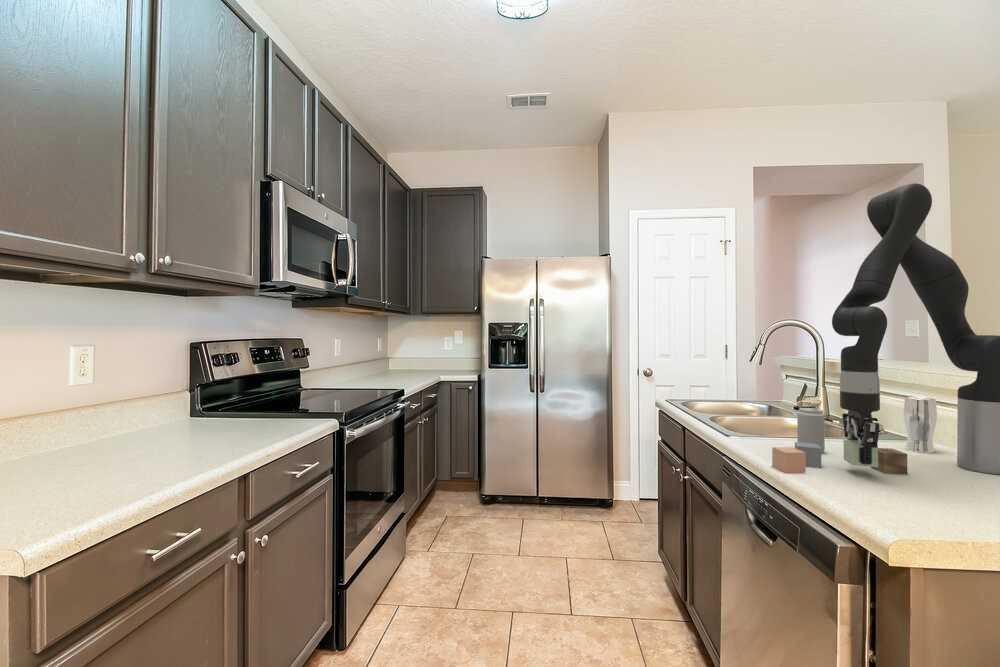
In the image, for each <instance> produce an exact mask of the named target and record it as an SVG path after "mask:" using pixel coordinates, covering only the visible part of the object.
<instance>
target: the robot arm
mask: <svg viewBox="0 0 1000 667" xmlns="http://www.w3.org/2000/svg"><path fill="white" fill-rule="evenodd" d="M932 205H933V196H932V194H931V191H930V190H929V189H928V188H927V187H926V186H925V185H923V184H921V183H918V182H916V183H908V184H905V185H902V186H898V187H896V188H893V189H891V190H889V191H886V192H883V193H881V194H878V195H876V196H874V197H872V198H871V199H870V200H869V201H868V204H867V206H866V214H867V217H868V220H869V221H870V224H871V225H872V227H873V228H874V230H875V231H876V232H877V233H878V235H879V236H880V237H881V240H880V241H879V242H878V244H876V246H875V247H874V248H873V249H872V250H871V251H870V252H869V253H868V255H867V256H866V257H865V258H864V259H863V261H862V263H861V265H860V267H859V268H858V270H857V273H856V276H855V279H854V282H853V284H852V288H851V289H850V290H849V292H848V293H847V294H846V295H845V297H844V298H843V299H842V300H841V302H840V303H839V305H837V307H836V309H835V311H834V312H833V315H832V318H831V325H832V329H833V330H834V332H835V333H836V334H838V335H840V336H844V337H858V339H857V341H856V343H855V344H854V345H851V346H845V347H843V348H842V349H841V352H840V376H839V406H840V408H841V409H842V410H846V411H847V413H845V412H843V413H842V425H843V433H844V434H843V435H844V438H846V440H858V443H859V447H860V448H859V462H860V463H862V464H872V449H873V448H877V446H878V444H879V443H878V442H879V435H880V424H879V423H878V422H874V419H873V417H872V413H875V412H876V413H877V412H879V411H880V410H881V402H880V401H881V387H880V386H881V385H880V384H881V383H880V382H881V380H880V376H879V353H880V349H881V346H882V343H883V341H884V336H885V334H886V331H887V329H888V318H887V314H886V313H885V311H884V310H883V309H881V308H880V307H878V306H873V304H874V305H875V304H878V303H881V302H883V301H885V300H886V298H887V297H888V295H889V293H890V290H891V287H892V284H893V281H894V279H895V275H896V273H897V271H898V268H899V266H901V267H902V269H903V271H904V273H905V275H906V276H907V279H908V281H909V283H910V284H911V286H912V287H913V290H914V291H915V292H916V294H917V297H918V298H919V299H920V302H922V304H923V306H924V307H925V310H926V312H927V313H928V315H929V317H930V318H931V320H932V323H933V325H934V326H935V329H936V331H937V333H938V336H939V338H940V341H941V343H942V346H943V347H944V350H945V353H946V355H947V357H948V359H949V360H950V362H951V364H952V365H954V366H955V367H956V368H957V369H960V370H963V371H967V372H977V374H976V378H975V380H974V381H973V382H971V383H969V384H965V385H961V386H959V387H958V388H957V406H956V407H957V429H956V430H957V431H956V432H957V437H956V438H957V440H956V441H957V443H956V444H957V446H956V448H957V451H956V462H957V463H956V464H957V466H958V467H960V468H961V469H962V468H963V469H966V470H970V471H974V472H979V473H985V474H993V475H1000V335H994V334H993V335H991V334H990V335H988V334H987V335H982V334H979V335H978V334H976V333H975V332H974V330H973V329H972V327H971V326H970V324H969V322H968V320H967V317H966V314H965V312H966V306H967V301H968V297H969V290H970V289H969V284H968V281H967V279H966V277H965V275H964V273H963V272H962V270H961V269H960V267H959V265H958V264H957V262H956V261H955V260H954V259H953V258H951V257H950V256H949V255H947V254H946V253H944V252H943V251H941V250H939V249H937V248H935V247H934V246H932V245H930V244H929V243H927V242H925V241H924V240H922V239H921V238H920V237H918V235H917V234H918V232H919V230H920V229H921V227H922V226H923V224H924V223H925V221H926V218H927V217H928V215H929V213H930V211H931V209H932ZM867 441H868V442H867Z"/></svg>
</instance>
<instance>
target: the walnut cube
mask: <svg viewBox="0 0 1000 667" xmlns="http://www.w3.org/2000/svg"><path fill="white" fill-rule="evenodd" d="M870 468H871V469H872V470H876V471H878V472H880V473H882V474H884V475H885V474H889V475H908V453H906V452H902V451H900V450H897V449H895V448H891V447H889V448H888V447H887V448H886V447H878V467H870Z"/></svg>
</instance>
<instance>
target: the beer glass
mask: <svg viewBox="0 0 1000 667" xmlns="http://www.w3.org/2000/svg"><path fill="white" fill-rule="evenodd" d="M937 408H938V407H937V400H936V399H935V398H930V397H924V396H922V397H921V396H905V397H904V404H903V417H904V418H903V419H904V423H905V424H904V425H905V429H906V434H907V435H906V436H907V437H906V438H907V439H906V444H905V449H906V450H907V451H910V450H911V452H914V451H916V452H915V453H920V452H923V453H922V454H934V453H935V451H936V450H935V447H934V441H933V438H934V433H935V429H936V425H937V420H938V419H937V418H938V409H937Z"/></svg>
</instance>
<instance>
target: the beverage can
mask: <svg viewBox="0 0 1000 667" xmlns="http://www.w3.org/2000/svg"><path fill="white" fill-rule="evenodd" d="M796 416H797V418H796V419H797V420H796V421H797V425H796V426H797V428H796V429H797V431H796V432H797V441H796V442H801V443H812V444H818V445H819V446H820V448H821V454H822V453H823V452H825V450H826V449H825V446H826V444H825V443H826V442H825V440H826V439H825V432H826V431H825V424H826V423H825V420H826V419H825V414H824V411H823V409H820V408H813V407H812V408H811V407H800V408H798V411H797V415H796Z"/></svg>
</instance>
